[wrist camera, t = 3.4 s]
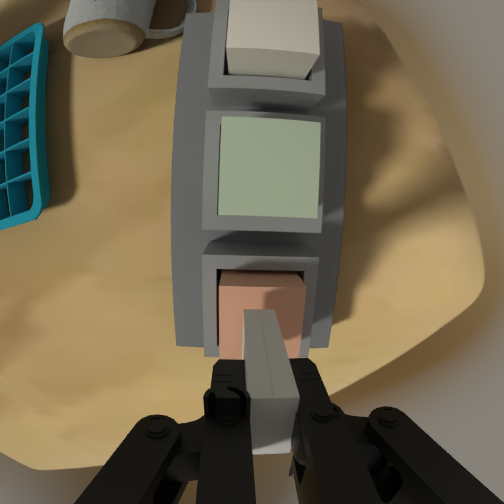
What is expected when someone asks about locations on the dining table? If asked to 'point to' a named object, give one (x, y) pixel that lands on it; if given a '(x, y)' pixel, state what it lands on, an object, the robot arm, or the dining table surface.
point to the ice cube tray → (15, 117)
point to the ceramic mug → (113, 26)
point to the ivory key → (272, 38)
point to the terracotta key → (260, 306)
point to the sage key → (269, 167)
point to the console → (207, 181)
